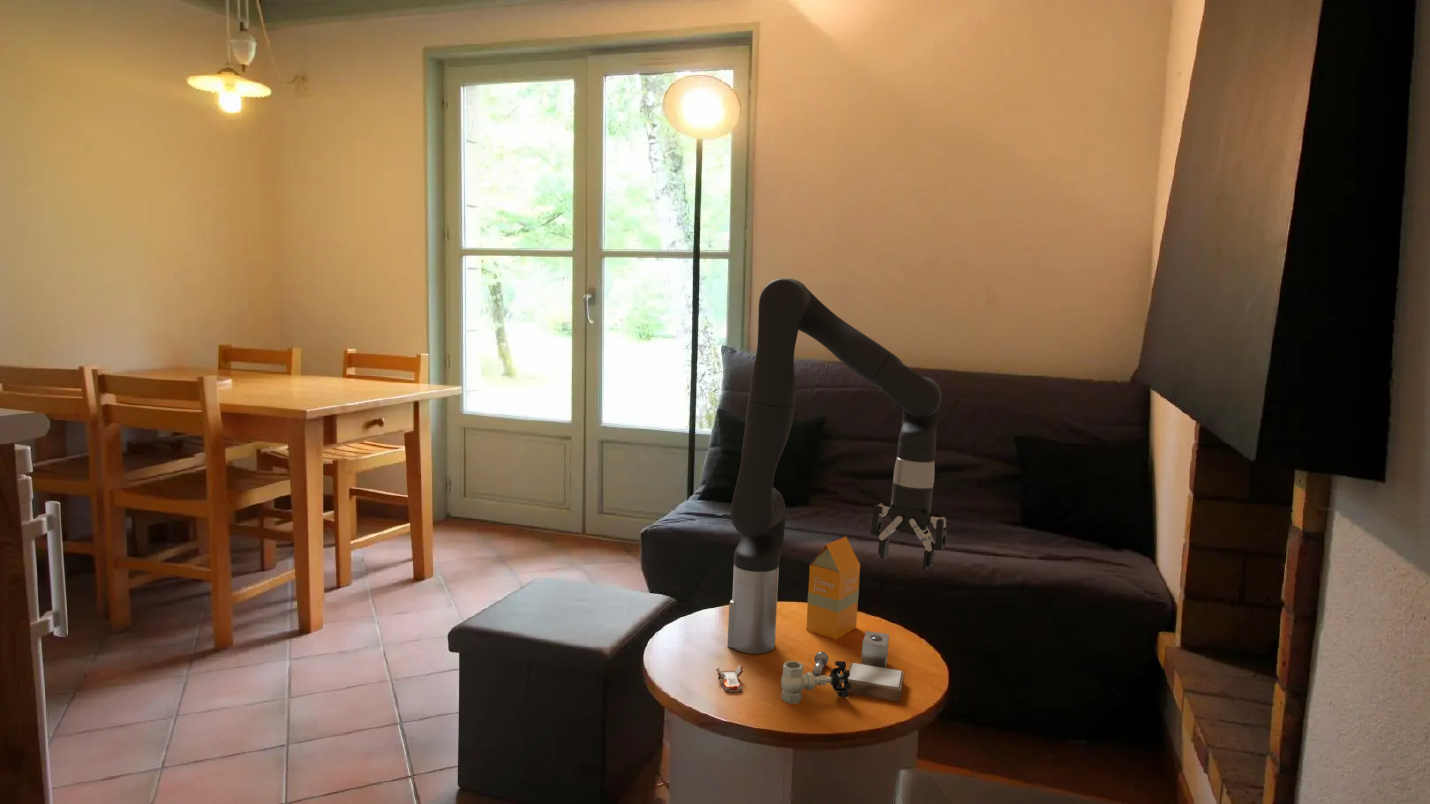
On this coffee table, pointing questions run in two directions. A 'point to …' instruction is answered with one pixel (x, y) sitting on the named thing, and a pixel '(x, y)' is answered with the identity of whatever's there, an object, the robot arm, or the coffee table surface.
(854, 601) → the orange juice
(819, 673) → the steel bolt
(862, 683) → the stand
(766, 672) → the coffee table surface
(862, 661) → the block
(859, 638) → the coffee table surface
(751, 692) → the coffee table surface
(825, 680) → the valve
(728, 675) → the toy car
